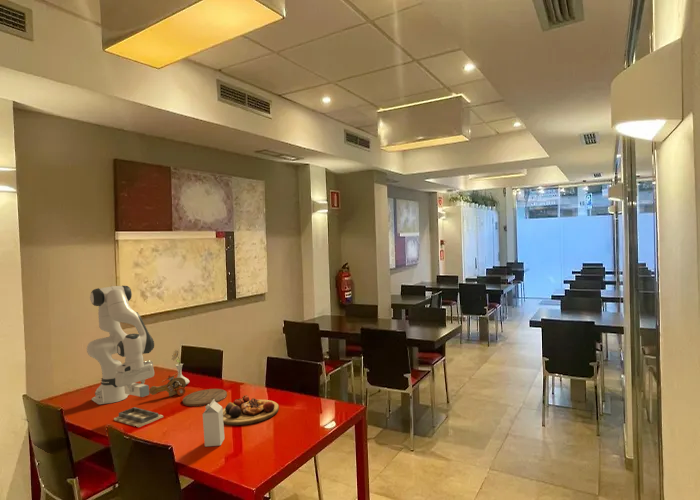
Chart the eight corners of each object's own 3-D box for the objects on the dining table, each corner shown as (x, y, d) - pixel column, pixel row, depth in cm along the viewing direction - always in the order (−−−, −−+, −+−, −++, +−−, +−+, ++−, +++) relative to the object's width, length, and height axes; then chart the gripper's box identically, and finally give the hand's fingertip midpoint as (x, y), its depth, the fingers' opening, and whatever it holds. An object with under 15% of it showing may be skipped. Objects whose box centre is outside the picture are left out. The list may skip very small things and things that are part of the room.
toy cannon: (187, 394, 266) (186, 372, 266) (151, 402, 255) (149, 379, 255) (184, 390, 273) (183, 369, 273) (149, 399, 262) (147, 376, 262)
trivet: (233, 391, 268) (233, 388, 268) (216, 406, 243) (216, 403, 243) (194, 392, 270) (194, 389, 270) (174, 407, 245) (174, 404, 245)
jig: (113, 420, 232) (113, 414, 231) (138, 410, 243) (138, 405, 243) (138, 427, 219) (138, 421, 219) (163, 417, 231) (162, 411, 231)
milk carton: (224, 438, 200) (221, 398, 200) (220, 445, 193) (217, 403, 192) (209, 439, 200) (206, 399, 199) (204, 447, 192) (201, 405, 192)
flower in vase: (172, 384, 289) (169, 347, 289) (190, 381, 293) (187, 345, 292) (170, 390, 277) (167, 351, 276) (189, 387, 280) (186, 349, 280)
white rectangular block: (124, 393, 234) (124, 384, 233) (131, 391, 237) (131, 382, 237) (142, 397, 225) (141, 387, 225) (149, 394, 229) (148, 385, 228)
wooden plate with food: (291, 408, 233) (290, 393, 233) (246, 430, 207) (245, 413, 207) (251, 400, 251) (249, 386, 251) (204, 420, 225) (203, 404, 225)
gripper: (149, 359, 241) (150, 383, 242) (112, 369, 224) (114, 395, 224) (155, 359, 238) (157, 384, 238) (119, 370, 221) (121, 397, 221)
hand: (136, 390), depth 231 cm, fingers closed on white rectangular block, 4 cm apart
